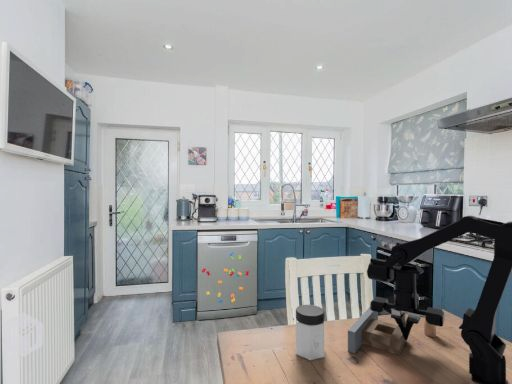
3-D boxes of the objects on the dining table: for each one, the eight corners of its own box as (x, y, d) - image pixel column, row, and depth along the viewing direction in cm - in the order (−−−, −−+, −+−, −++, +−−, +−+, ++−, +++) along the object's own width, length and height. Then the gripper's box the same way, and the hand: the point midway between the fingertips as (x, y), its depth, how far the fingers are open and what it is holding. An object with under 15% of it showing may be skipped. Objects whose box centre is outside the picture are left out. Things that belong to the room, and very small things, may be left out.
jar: (303, 362, 75) (303, 318, 75) (289, 347, 82) (289, 306, 83) (331, 356, 78) (331, 313, 78) (316, 342, 85) (315, 302, 86)
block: (406, 340, 86) (406, 327, 86) (399, 355, 78) (399, 340, 78) (372, 330, 92) (372, 318, 92) (363, 343, 85) (362, 330, 85)
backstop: (377, 323, 98) (377, 306, 98) (354, 353, 79) (354, 332, 79) (371, 321, 99) (371, 304, 99) (347, 351, 80) (347, 330, 80)
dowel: (436, 334, 90) (436, 312, 90) (435, 338, 88) (435, 315, 88) (425, 331, 92) (424, 310, 92) (423, 335, 90) (423, 313, 90)
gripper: (445, 285, 83) (446, 338, 82) (379, 274, 94) (380, 321, 94) (441, 295, 74) (443, 355, 74) (369, 283, 85) (370, 334, 85)
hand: (406, 339), depth 82 cm, fingers closed
